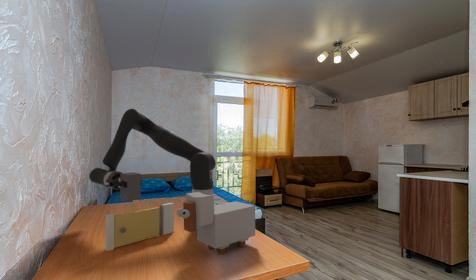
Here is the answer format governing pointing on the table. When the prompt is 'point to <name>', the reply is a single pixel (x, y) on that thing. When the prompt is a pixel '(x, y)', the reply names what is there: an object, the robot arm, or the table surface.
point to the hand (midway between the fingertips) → (133, 184)
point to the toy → (218, 221)
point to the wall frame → (164, 224)
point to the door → (136, 226)
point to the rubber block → (131, 186)
